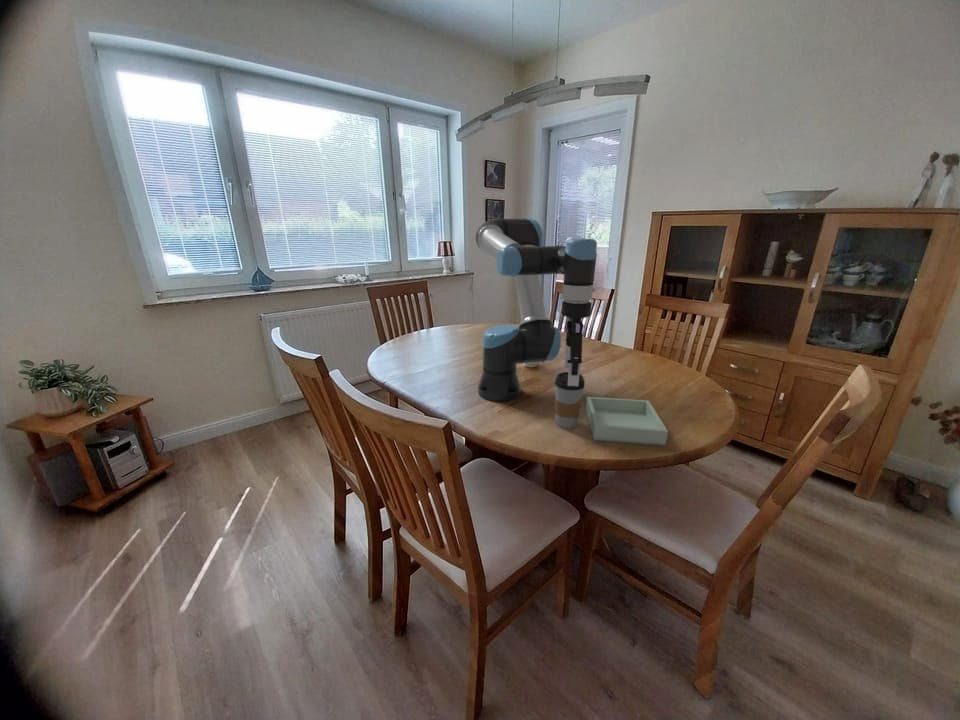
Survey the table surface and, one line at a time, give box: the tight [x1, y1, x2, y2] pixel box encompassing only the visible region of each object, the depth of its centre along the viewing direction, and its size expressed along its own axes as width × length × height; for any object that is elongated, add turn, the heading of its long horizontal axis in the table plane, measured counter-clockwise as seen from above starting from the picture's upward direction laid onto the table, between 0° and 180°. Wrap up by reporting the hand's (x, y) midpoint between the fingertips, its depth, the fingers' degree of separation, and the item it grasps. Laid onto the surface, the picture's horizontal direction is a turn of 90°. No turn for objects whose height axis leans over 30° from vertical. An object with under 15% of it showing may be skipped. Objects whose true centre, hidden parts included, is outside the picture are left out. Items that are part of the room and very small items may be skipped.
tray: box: [585, 396, 669, 447], centre depth 105 cm, size 18×18×4 cm
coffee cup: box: [554, 371, 585, 429], centre depth 104 cm, size 8×8×15 cm
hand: (570, 376), depth 101 cm, fingers open, 13 cm apart
